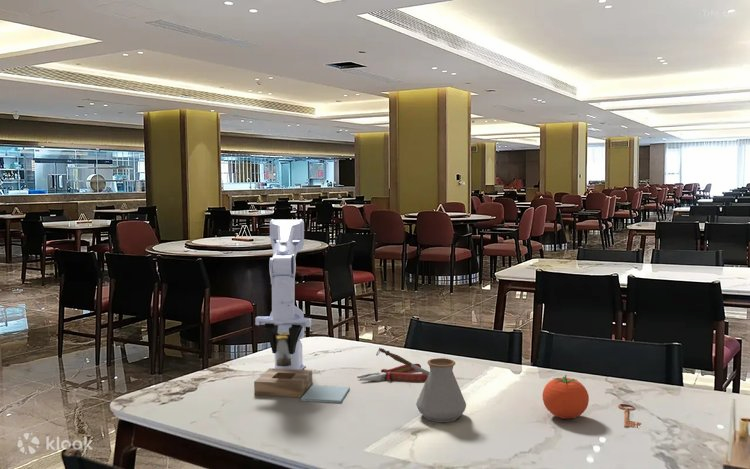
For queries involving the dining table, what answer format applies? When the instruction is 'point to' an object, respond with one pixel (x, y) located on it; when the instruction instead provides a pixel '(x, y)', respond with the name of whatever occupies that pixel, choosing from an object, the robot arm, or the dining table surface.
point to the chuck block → (283, 382)
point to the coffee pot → (437, 390)
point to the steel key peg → (283, 349)
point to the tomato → (565, 397)
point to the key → (626, 421)
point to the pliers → (396, 374)
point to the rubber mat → (325, 394)
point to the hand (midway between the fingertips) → (283, 352)
